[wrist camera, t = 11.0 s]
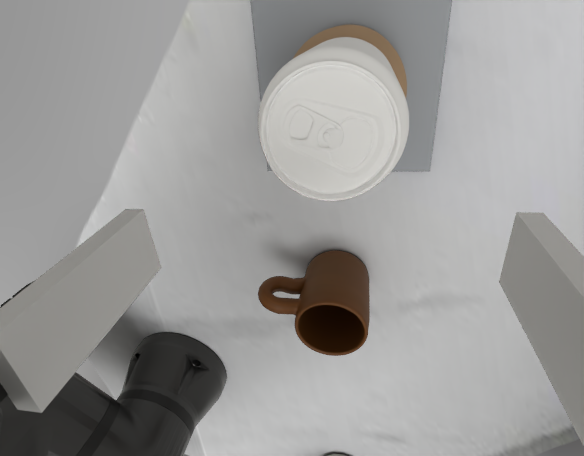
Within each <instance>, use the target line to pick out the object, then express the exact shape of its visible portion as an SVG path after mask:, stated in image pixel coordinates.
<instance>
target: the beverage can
mask: <svg viewBox="0 0 584 456" xmlns="http://www.w3.org/2000/svg"><path fill="white" fill-rule="evenodd" d="M258 132H259V138H260V143H261V146H262V149H263V152H264V155H265V157H266V160H267V162H268V164H269V166H270V167H271V169H272V170H273V172H274V173H275V174H276V176H277V177H278V178H279V179H280V180H281V181H282V182H283V183H284V184H285V185H287V186H288V187H289V188H291V189H292V190H294V191H295V192H297V193H299V194H301V195H303V196H306V197H309V198H312V199H316V200H322V201H339V200H345V199H349V198H353V197H356V196H358V195H360V194H362V193H364V192H366V191H368V190H369V189H371V188H373V187H374V186H376V185H377V184H378V183H380V182H381V181H382V180H383V179H384V178H385V177H386V176H387V175H388V174H389V173H390V172H391V171H392V170H393V168H394V167H395V166H396V164H397V162H398V161H399V159H400V157H401V155H402V153H403V151H404V148H405V145H406V142H407V138H408V132H409V111H408V105H407V101H406V98H405V95H404V93H403V90H402V88H401V86H400V84H399V82H398V79H397V77H396V75H395V73H394V71H393V69H392V67H391V65H390V63H389V61H388V60H387V58H386V57H385V56H384V54H383V53H382V52H381V51H380V50H379V49H377V48H376V47H375V46H373V45H372V44H370V43H368V42H366V41H364V40H361V39H358V38H352V37H339V38H334V39H330V40H327V41H325V42H322V43H320V44H319V45H317V46H315V47H313V48H311V49H309V50H308V51H306V52H304V53H302V54H300V55H298V56H297V57H295V58H293V59H292V60H291V61H289V62H288V63H287V64H285V65H284V66H283V67H282V68H281V69H280V70H279V71H278V72H277V73H276V75H275V76H274V77H273V79H272V80H271V82H270V83H269V85H268V87H267V88H266V91H265V93H264V95H263V98H262V101H261V104H260V109H259V115H258Z"/></svg>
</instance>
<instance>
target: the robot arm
mask: <svg viewBox="0 0 584 456" xmlns="http://www.w3.org/2000/svg"><path fill="white" fill-rule="evenodd" d="M160 269H161V265H160V262H159V259H158V255H157V252H156V249H155V245H154V242H153V239H152V236H151V232H150V229H149V226H148V223H147V219H146V216H145V213H144V210H143V209H125V210H124V211H123V212H122V213H120V214H119V215H118V216H117V217H115V218H114V219H113V220H112V221H110V222H109V223H108V224H106V225H105V226H104V227H103V228H101V229H100V230H99V231H98V232H96V233H95V234H94V235H92V236H91V237H90V238H89V239H87V240H86V241H85V242H84V243H82V244H81V245H80V246H78V247H77V248H76V249H75V250H73V251H72V252H71V253H70V254H68V255H67V256H66V257H65V258H63V259H62V260H61V261H59V262H58V263H57V264H56V265H54V266H53V267H52V268H51V269H49V270H48V271H47V272H46V273H44V274H43V275H42V276H40V277H39V278H38V279H37V280H35V281H33V282H32V283H30V284H28V285H26V286H25V287H24V288H22V289H21V290H20V291H19V292H17V293H16V294H15V295H13V298H12V299H8V300H7V301H6V302H4V303H3V304H2V305H1V307H0V456H183V455H184V453H185V450H186V448H187V445H188V443H189V441H190V438H191V436H192V433H193V431H194V429H195V427H196V425H197V424H198V423H199V422H200V420H201V419H202V418H203V417H204V416H205V415H206V413H207V412H208V411H209V410H210V409H211V407H212V406H213V405H214V404H215V402H216V401H217V400H218V399H219V397H220V395H221V393H222V391H223V388H224V386H225V383H226V371H225V368H224V366H223V364H222V362H221V361H220V359H219V358H218V357H217V356H216V354H215V353H214V352H212V351H211V350H210V349H209V348H208V347H206V346H205V345H203V344H202V343H200V342H198V341H196V340H194V339H192V338H189V337H186V336H183V335H179V334H174V333H158V334H154V335H151V336H149V337H147V338H145V339H144V340H143V341H142V342H141V343H140V345H139V346H138V348H137V349H136V351H135V352H134V354H133V356H132V358H131V362H130V365H129V369H128V372H127V376H126V379H125V383H124V386H123V390H122V392H121V394H120V396H119V397H118V399H117V400H115V399H113V398H112V397H110V396H109V395H108V394H106V393H105V392H103V391H102V390H100V389H99V388H97V387H96V386H94V385H93V384H91V383H90V382H89V381H87V380H86V379H84V378H83V377H82V376H80V375H79V374H78V373H76V371H77V370H78V368H79V367H80V366H81V365H82V363H83V362H84V361H85V360H86V359H87V357H88V356H89V355H90V354H91V353H92V351H93V350H94V349H95V348H96V347H97V345H98V344H99V343H100V342H101V340H102V339H103V338H104V337H105V336H106V334H107V333H108V332H109V331H110V330H111V328H112V327H113V326H114V325H115V324H116V322H117V321H118V320H119V319H120V317H121V316H122V315H123V314H124V313H125V311H126V310H127V309H128V308H129V307H130V305H131V304H132V303H133V302H134V300H135V299H136V298H137V297H138V296H139V294H140V293H141V292H142V291H143V290H144V288H145V287H146V286H147V285H148V283H149V282H150V281H151V280H152V279H153V277H154V276H155V275H156V274H157V273H158V271H159V270H160ZM499 283H500V284H501V286H502V288H503V290H504V292H505V294H506V296H507V298H508V300H509V302H510V304H511V306H512V308H513V310H514V312H515V314H516V316H517V318H518V320H519V321H520V323H521V325H522V327H523V329H524V331H525V333H526V335H527V337H528V339H529V341H530V343H531V345H532V347H533V349H534V351H535V353H536V355H537V356H538V358H539V360H540V362H541V364H542V366H543V368H544V370H545V372H546V374H547V376H548V378H549V380H550V382H551V384H552V386H553V388H554V390H555V392H556V393H557V395H558V397H559V399H560V401H561V403H562V405H563V407H564V409H565V411H566V413H567V415H568V417H569V419H570V421H571V423H572V425H573V427H574V428H575V430H576V432H577V434H578V436H579V438H580V440H581V442H582V444H583V446H584V256H583V255H582V254H581V253H580V252H579V251H578V250H577V249H576V248H575V247H574V246H573V244H572V243H571V242H570V241H569V240H568V239H567V238H566V237H565V236H564V235H563V234H562V233H561V232H560V230H559V229H558V228H557V227H556V226H555V225H554V224H553V223H552V222H551V221H550V220H549V219H548V218H547V216H546V215H545V214H544V213H516V216H515V220H514V224H513V228H512V232H511V236H510V240H509V244H508V248H507V252H506V256H505V260H504V264H503V268H502V272H501V276H500V280H499Z"/></svg>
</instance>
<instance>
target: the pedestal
mask: <svg viewBox="0 0 584 456" xmlns="http://www.w3.org/2000/svg"><path fill="white" fill-rule="evenodd" d="M451 5H452V0H251V10H252V20H253V29H254V39H255V49H256V59H257V69H258V79H259V88H260V98H261V101H262V98H263V95H264V93H265V91H266V88H267V87H268V85H269V83H270V82H271V80H272V79H273V77H274V76H275V75H276V73H277V72H278V71H279V70H280V69H281V68H282V67H283V66H284V65H285V64H287V63H288V62H289V61H291V60H292V59H293V58H295V57H297V56H298V55H300V54H302V53H304V52H306V51H308V50H309V49H311V48H313V47H315V46H317V45H319V44H320V43H322V42H325V41H327V40H330V39H334V38H339V37H352V38H358V39H361V40H364V41H366V42H368V43H370V44H372V45H373V46H375V47H376V48H377V49H379V50H380V51H381V52H382V53H383V54H384V56H385V57H386V58H387V60H388V61H389V63H390V65H391V67H392V69H393V71H394V73H395V75H396V77H397V79H398V82H399V84H400V86H401V88H402V90H403V93H404V95H405V98H406V101H407V105H408V111H409V132H408V138H407V142H406V145H405V148H404V151H403V153H402V155H401V157H400V159H399V161H398V162H397V164H396V166H395V167H394V168H393V170H392V171H430V166H431V158H432V151H433V143H434V135H435V128H436V120H437V112H438V105H439V97H440V89H441V82H442V74H443V66H444V59H445V51H446V43H447V35H448V28H449V20H450V12H451ZM267 167H268V171H273V170H272V169H271V167H270V166H269V164H268V162H267Z"/></svg>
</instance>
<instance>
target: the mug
mask: <svg viewBox="0 0 584 456" xmlns="http://www.w3.org/2000/svg"><path fill="white" fill-rule="evenodd" d="M277 291H281V292H285V293H289V294H300V297H299V299H292V298H279V297H276V296H274V295H273V293H274V292H277ZM258 296H259V300H260V302H261V304H262V305H263V306H264V307H265V308H267V309H268V310H270V311H272V312H274V313H278V314H294V315H296V318H295V329H296V333H297V335H298V337H299V338H300V340H301V341H302V342H303V343H304V344H305V345H306V346H307V347H309V348H310V349H312V350H314V351H316V352H319V353H322V354H326V355H335V356H338V355H345V354H349V353H352V352H354V351H356V350H357V349H359V348H360V347H361V346H362V345H363V344H364V342H365V341H366V339H367V335H368V327H369V276H368V272H367V269H366V267H365V265H364V264H363V263H362V261H361V260H359V259H358V258H357V257H356V256H354V255H352V254H350V253H348V252H344V251H336V250H335V251H327V252H324V253H322V254H319V255H318V256H316V257H315V258H314V259H313V260H312V261H311V262H310V264H309V266H308V268H307V270H306V274H305V277H303V278H295V279H293V278H289V277H283V276H276V277H272V278H269V279H267V280H266V281H264V282H263V283H262V285H261V286H260V288H259V292H258Z"/></svg>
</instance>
